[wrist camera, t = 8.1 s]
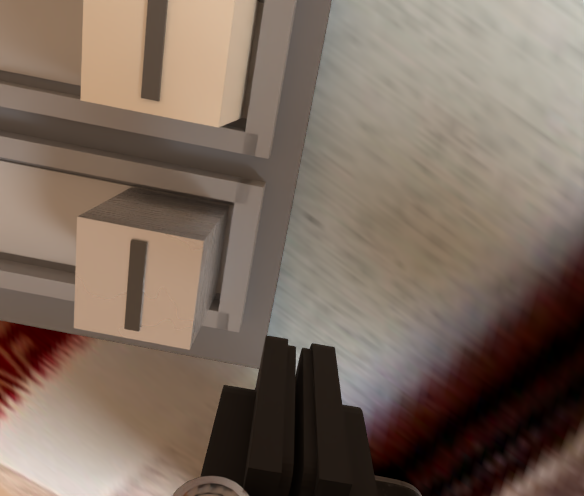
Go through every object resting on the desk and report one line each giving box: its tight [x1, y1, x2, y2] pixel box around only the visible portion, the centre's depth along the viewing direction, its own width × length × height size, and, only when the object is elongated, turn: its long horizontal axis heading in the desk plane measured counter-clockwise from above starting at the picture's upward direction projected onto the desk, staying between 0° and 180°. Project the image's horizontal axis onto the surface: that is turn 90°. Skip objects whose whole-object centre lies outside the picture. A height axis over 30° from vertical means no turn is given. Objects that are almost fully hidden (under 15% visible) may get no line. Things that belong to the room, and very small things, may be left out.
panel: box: [0, 0, 332, 369], centre depth 16 cm, size 17×25×6 cm
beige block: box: [74, 187, 229, 350], centre depth 17 cm, size 4×4×5 cm
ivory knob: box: [80, 0, 259, 128], centre depth 14 cm, size 4×4×5 cm
